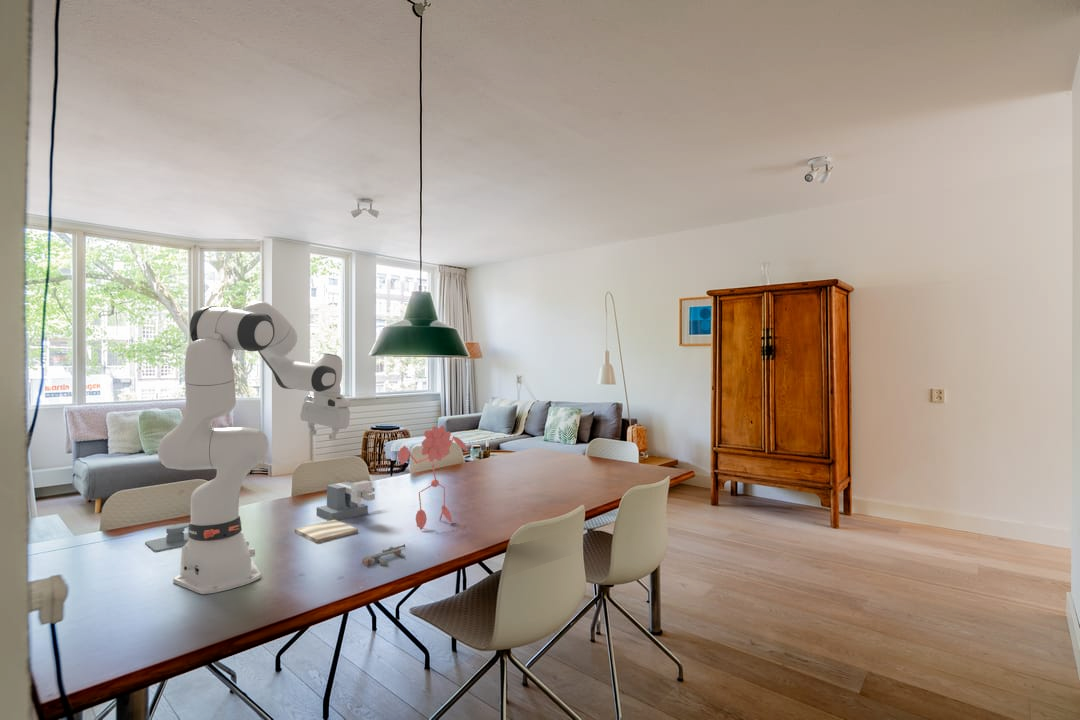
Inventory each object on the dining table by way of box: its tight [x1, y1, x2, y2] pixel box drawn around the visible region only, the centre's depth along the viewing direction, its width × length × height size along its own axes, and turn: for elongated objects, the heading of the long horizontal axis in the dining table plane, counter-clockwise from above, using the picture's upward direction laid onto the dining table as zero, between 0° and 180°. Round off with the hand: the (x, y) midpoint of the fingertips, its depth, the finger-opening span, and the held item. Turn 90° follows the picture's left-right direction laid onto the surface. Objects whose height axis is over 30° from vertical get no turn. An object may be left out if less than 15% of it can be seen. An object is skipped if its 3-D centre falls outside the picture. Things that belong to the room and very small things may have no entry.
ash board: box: [294, 520, 359, 544], centre depth 175 cm, size 16×14×1 cm
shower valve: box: [144, 522, 190, 553], centre depth 167 cm, size 12×6×15 cm
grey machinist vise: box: [316, 481, 376, 521], centre depth 194 cm, size 27×20×11 cm
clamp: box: [361, 543, 406, 567], centre depth 152 cm, size 15×2×10 cm
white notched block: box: [350, 479, 373, 503], centre depth 187 cm, size 4×6×6 cm, turn 138°
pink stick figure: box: [397, 425, 469, 535], centre depth 181 cm, size 15×26×35 cm, turn 132°
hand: (322, 437), depth 188 cm, fingers open, 8 cm apart
